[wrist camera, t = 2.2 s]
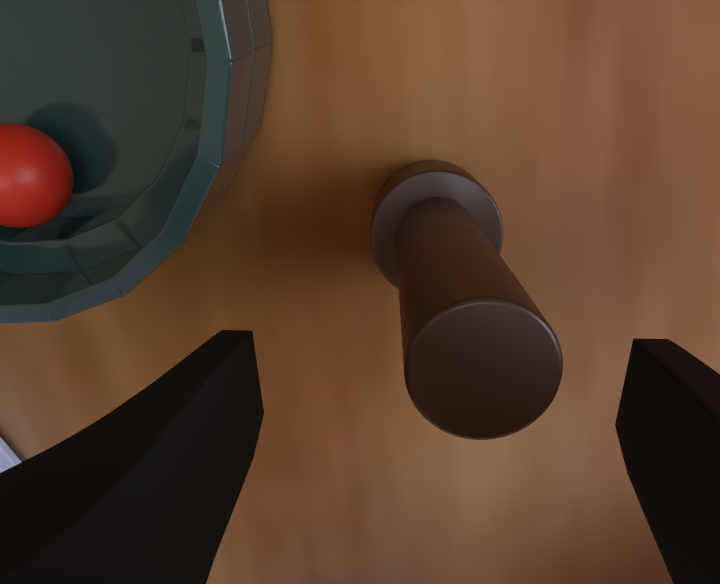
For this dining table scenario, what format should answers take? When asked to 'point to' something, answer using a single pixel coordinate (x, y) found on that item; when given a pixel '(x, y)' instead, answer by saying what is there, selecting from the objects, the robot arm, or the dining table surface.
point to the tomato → (31, 176)
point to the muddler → (461, 305)
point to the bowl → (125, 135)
